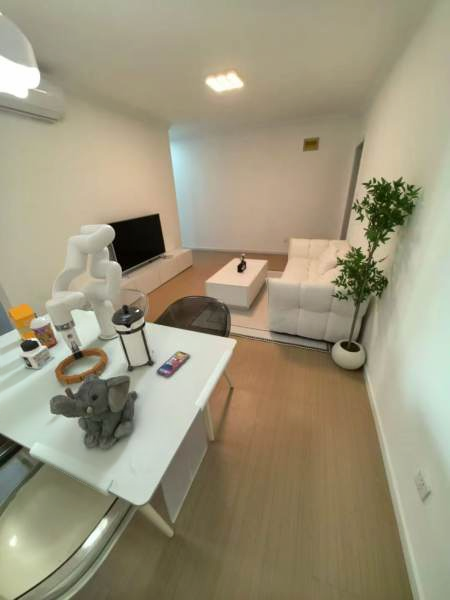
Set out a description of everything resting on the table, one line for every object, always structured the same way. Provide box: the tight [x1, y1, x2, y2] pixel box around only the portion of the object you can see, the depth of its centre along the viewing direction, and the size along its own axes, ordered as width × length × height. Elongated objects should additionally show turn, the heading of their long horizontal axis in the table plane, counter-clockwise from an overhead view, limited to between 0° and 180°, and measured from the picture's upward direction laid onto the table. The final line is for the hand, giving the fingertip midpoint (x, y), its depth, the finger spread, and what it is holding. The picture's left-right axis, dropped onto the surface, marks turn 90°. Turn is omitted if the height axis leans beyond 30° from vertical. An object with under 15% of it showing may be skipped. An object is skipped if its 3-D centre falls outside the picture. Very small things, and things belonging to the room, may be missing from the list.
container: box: [18, 338, 54, 370], centre depth 108 cm, size 8×8×13 cm
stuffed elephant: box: [49, 374, 138, 450], centre depth 72 cm, size 19×21×27 cm
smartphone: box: [157, 350, 190, 377], centre depth 104 cm, size 1×7×15 cm
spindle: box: [64, 387, 77, 399], centre depth 88 cm, size 4×4×6 cm
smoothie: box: [30, 312, 58, 349], centre depth 119 cm, size 8×8×20 cm
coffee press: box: [111, 304, 155, 372], centre depth 102 cm, size 17×16×30 cm
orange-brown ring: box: [54, 347, 109, 385], centre depth 103 cm, size 20×20×3 cm
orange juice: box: [7, 302, 37, 341], centre depth 128 cm, size 8×9×20 cm
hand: (78, 356), depth 110 cm, fingers closed on orange-brown ring, 2 cm apart
